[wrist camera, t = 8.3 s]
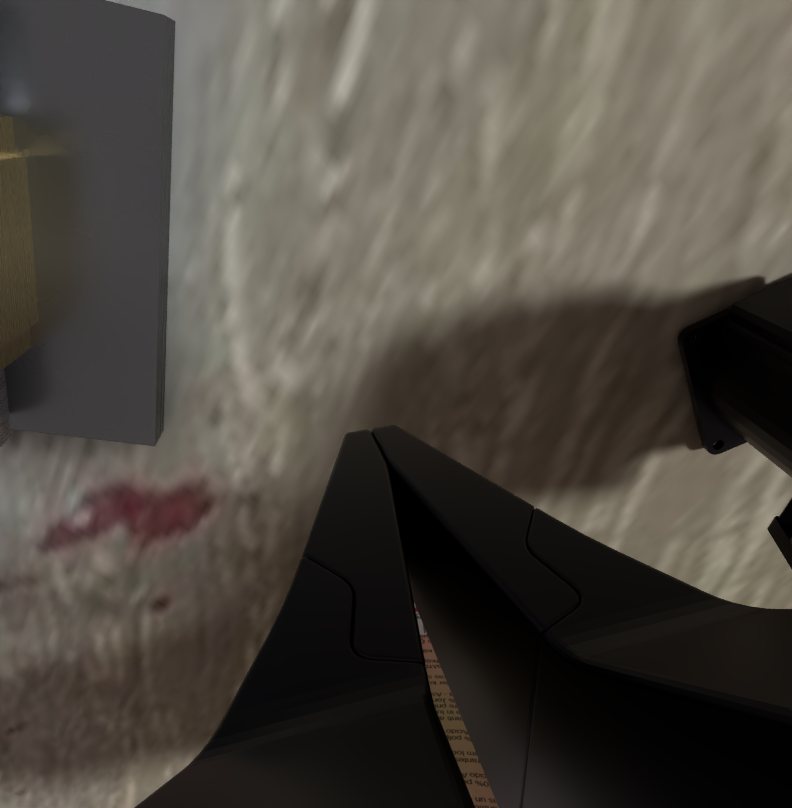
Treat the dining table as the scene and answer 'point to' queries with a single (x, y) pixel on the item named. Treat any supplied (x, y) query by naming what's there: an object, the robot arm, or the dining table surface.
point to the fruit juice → (455, 727)
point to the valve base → (84, 218)
